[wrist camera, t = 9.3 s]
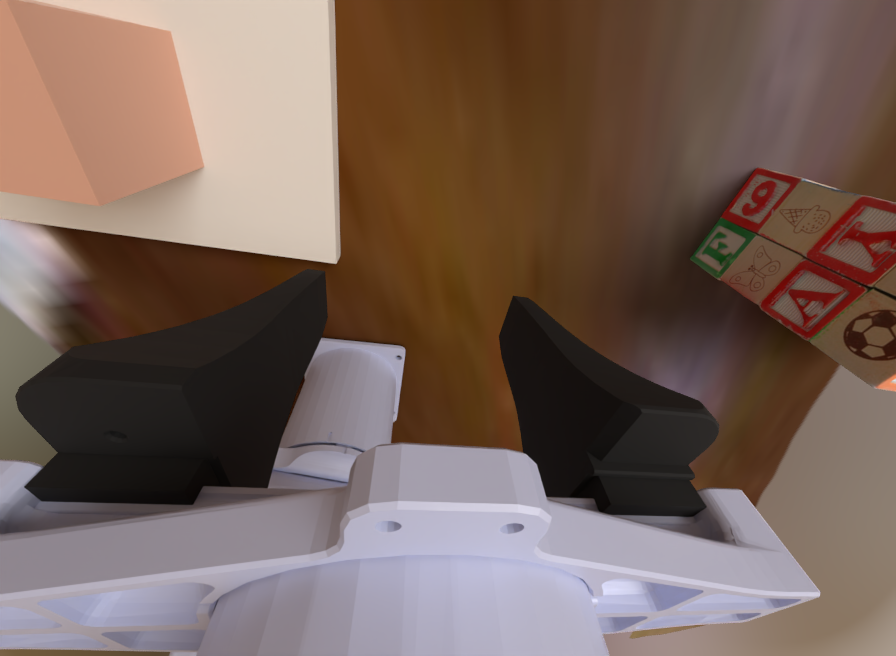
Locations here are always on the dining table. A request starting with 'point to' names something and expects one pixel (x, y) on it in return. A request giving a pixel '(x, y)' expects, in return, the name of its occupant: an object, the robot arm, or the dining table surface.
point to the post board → (234, 132)
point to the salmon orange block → (89, 105)
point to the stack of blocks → (814, 266)
